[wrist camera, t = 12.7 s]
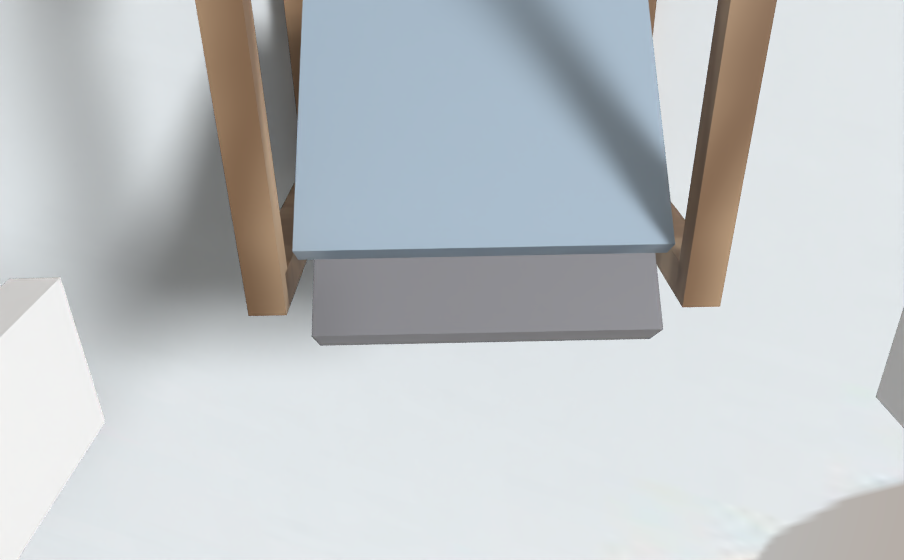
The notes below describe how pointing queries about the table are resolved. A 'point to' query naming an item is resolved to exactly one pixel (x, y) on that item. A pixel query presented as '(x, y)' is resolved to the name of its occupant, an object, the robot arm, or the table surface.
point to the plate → (480, 171)
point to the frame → (246, 129)
